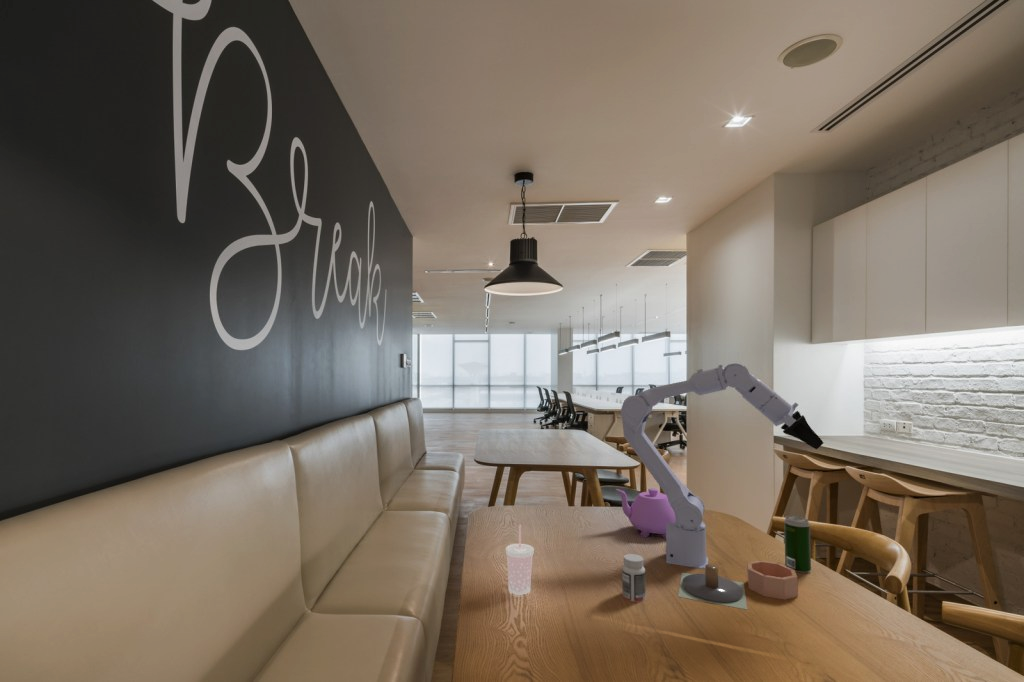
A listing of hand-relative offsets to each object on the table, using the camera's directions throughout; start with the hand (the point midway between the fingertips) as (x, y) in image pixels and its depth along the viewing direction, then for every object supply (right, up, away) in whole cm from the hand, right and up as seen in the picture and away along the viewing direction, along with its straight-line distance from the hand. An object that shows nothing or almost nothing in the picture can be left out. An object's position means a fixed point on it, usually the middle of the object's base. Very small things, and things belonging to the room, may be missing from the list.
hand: (817, 443), depth 109 cm
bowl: (-13, -31, -5) cm, 34 cm away
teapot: (-29, -33, +32) cm, 54 cm away
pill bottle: (-44, -31, -9) cm, 55 cm away
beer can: (-1, -32, +6) cm, 33 cm away
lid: (-27, -30, -6) cm, 41 cm away
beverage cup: (-68, -31, -7) cm, 75 cm away
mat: (-27, -31, -6) cm, 41 cm away
